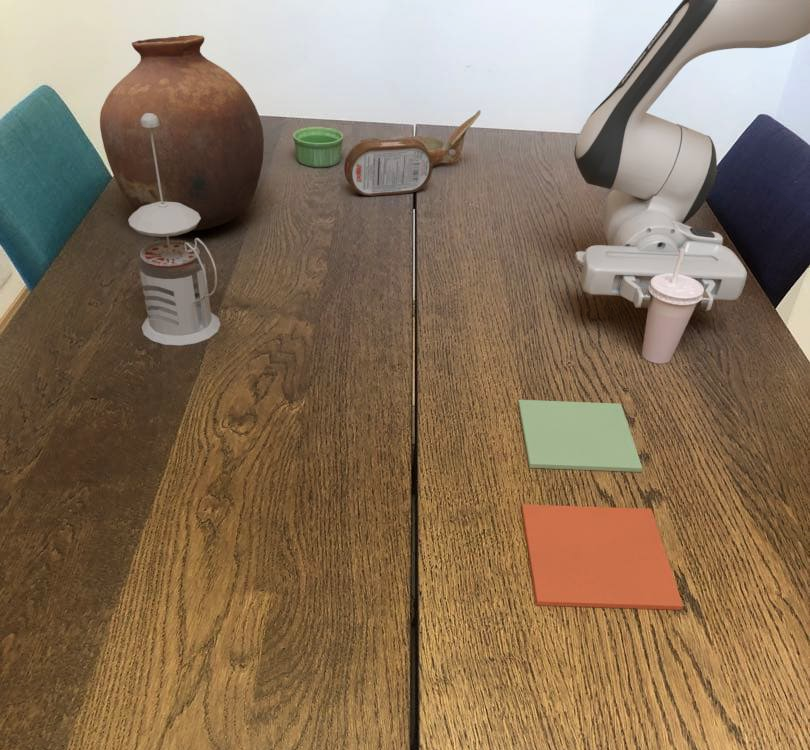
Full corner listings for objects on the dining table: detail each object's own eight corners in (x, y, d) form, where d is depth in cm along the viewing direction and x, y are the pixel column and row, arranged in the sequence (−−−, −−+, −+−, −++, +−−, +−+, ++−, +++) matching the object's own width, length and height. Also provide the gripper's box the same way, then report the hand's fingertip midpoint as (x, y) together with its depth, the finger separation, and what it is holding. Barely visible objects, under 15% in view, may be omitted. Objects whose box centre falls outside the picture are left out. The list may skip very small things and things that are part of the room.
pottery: (227, 263, 117) (206, 68, 100) (88, 234, 122) (45, 43, 105) (293, 207, 133) (285, 30, 116) (167, 183, 138) (142, 10, 121)
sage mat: (620, 407, 95) (621, 403, 95) (641, 472, 87) (642, 467, 86) (517, 403, 95) (518, 399, 95) (529, 468, 86) (529, 463, 86)
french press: (182, 299, 109) (151, 93, 92) (247, 327, 105) (227, 117, 87) (124, 327, 103) (80, 113, 86) (190, 359, 99) (157, 139, 81)
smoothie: (627, 341, 107) (655, 236, 97) (676, 344, 107) (708, 239, 97) (635, 368, 102) (665, 260, 92) (686, 370, 102) (722, 263, 92)
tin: (427, 186, 142) (430, 135, 137) (433, 193, 140) (436, 141, 134) (343, 193, 138) (343, 140, 133) (348, 200, 136) (348, 147, 131)
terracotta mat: (649, 513, 82) (651, 508, 82) (681, 610, 73) (683, 605, 72) (521, 508, 82) (522, 503, 81) (536, 605, 72) (537, 601, 72)
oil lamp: (472, 178, 146) (478, 117, 139) (355, 165, 148) (355, 105, 141) (477, 161, 152) (483, 103, 146) (365, 149, 154) (366, 91, 148)
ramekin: (293, 151, 152) (292, 126, 149) (342, 152, 153) (341, 126, 150) (294, 169, 145) (293, 143, 142) (344, 169, 146) (344, 143, 143)
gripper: (577, 226, 106) (595, 275, 96) (732, 233, 106) (766, 282, 96) (568, 272, 110) (584, 323, 100) (717, 279, 111) (748, 330, 101)
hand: (675, 303), depth 98 cm, fingers closed on smoothie, 6 cm apart
